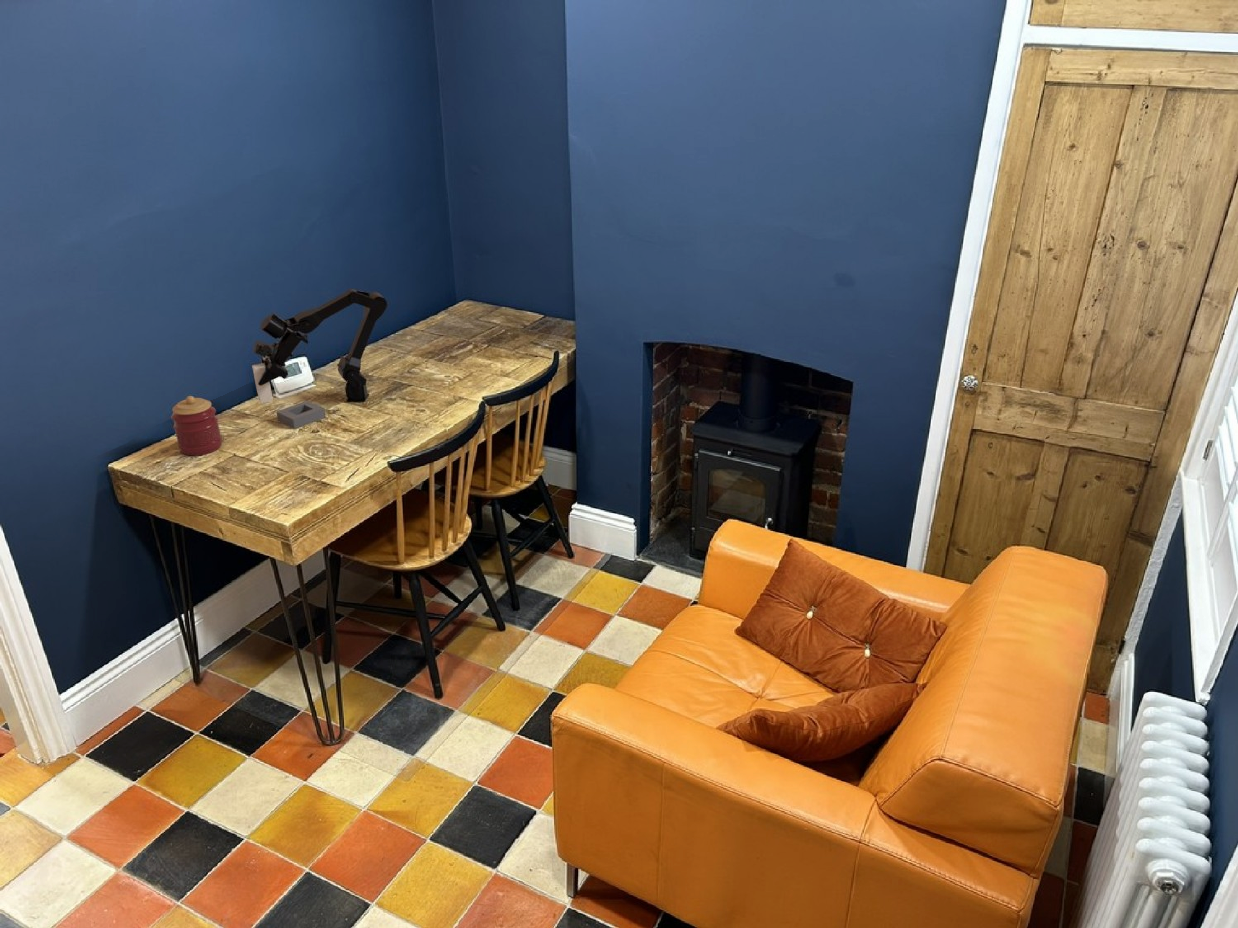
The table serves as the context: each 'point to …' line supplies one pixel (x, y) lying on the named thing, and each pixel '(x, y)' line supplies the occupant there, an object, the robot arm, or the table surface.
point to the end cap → (301, 414)
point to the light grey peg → (265, 389)
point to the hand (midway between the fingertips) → (258, 383)
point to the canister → (196, 426)
